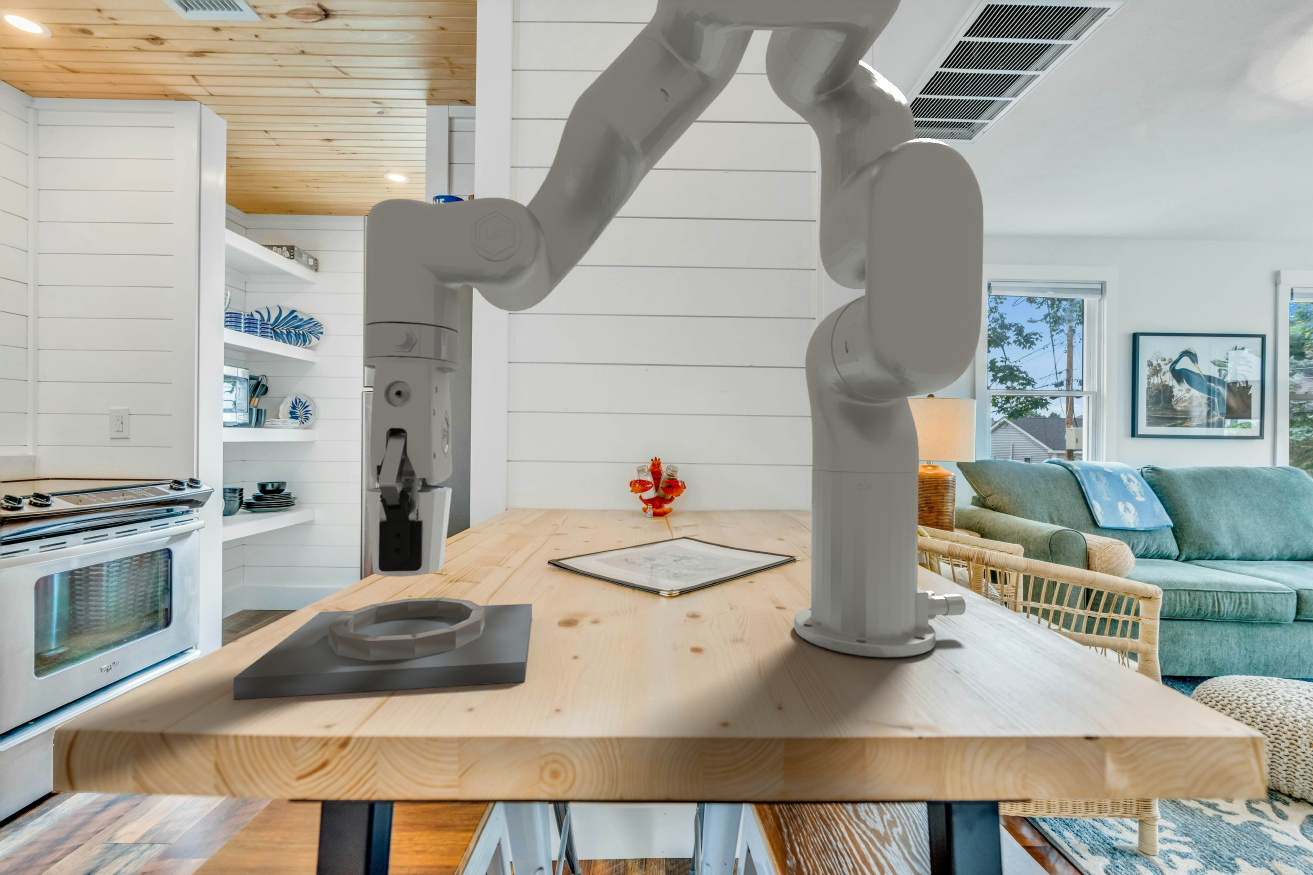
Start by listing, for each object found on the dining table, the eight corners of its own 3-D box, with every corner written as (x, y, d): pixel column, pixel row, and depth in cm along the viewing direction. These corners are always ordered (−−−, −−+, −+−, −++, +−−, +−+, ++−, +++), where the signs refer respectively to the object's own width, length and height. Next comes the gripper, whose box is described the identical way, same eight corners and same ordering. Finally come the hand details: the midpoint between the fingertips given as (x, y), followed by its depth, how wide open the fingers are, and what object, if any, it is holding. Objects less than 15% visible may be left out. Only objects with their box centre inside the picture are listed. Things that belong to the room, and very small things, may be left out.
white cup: (421, 580, 47) (422, 492, 47) (345, 575, 49) (347, 489, 49) (465, 563, 54) (467, 486, 54) (398, 559, 56) (399, 483, 56)
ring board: (531, 618, 61) (532, 588, 61) (524, 681, 45) (525, 641, 45) (320, 627, 58) (320, 596, 58) (233, 699, 42) (233, 656, 42)
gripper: (440, 338, 44) (436, 585, 44) (471, 365, 61) (468, 543, 61) (329, 333, 42) (325, 588, 42) (392, 362, 59) (390, 545, 59)
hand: (409, 560), depth 52 cm, fingers closed on white cup, 5 cm apart
